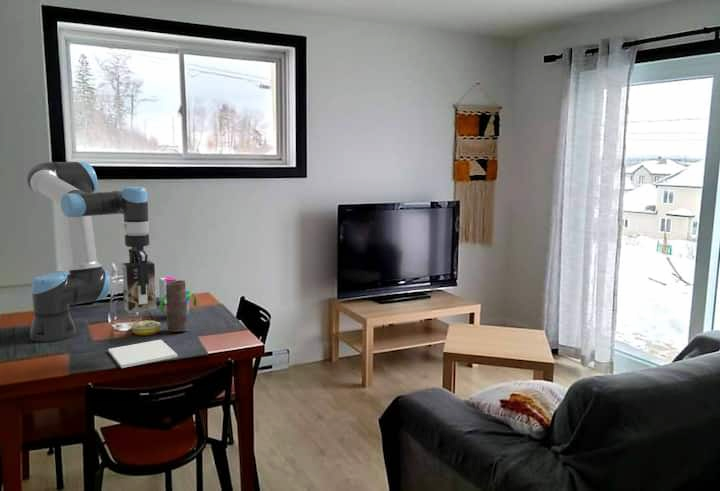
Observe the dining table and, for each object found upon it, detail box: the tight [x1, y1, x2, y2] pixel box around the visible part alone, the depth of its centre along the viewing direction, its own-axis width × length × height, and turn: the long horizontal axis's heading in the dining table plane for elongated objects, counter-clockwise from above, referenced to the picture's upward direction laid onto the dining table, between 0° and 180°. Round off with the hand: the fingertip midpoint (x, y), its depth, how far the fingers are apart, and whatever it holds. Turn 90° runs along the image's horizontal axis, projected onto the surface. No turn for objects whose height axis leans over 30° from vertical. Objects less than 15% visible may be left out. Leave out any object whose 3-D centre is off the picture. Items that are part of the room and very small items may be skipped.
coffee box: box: [122, 260, 157, 314], centre depth 188 cm, size 9×6×16 cm
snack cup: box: [159, 290, 198, 317], centre depth 236 cm, size 16×10×10 cm
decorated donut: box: [131, 319, 162, 336], centre depth 216 cm, size 10×11×4 cm
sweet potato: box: [166, 279, 188, 333], centre depth 216 cm, size 8×7×20 cm
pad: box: [107, 339, 178, 369], centre depth 192 cm, size 18×18×1 cm
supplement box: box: [158, 276, 177, 306], centre depth 256 cm, size 6×6×12 cm
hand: (140, 301), depth 189 cm, fingers closed on coffee box, 6 cm apart
